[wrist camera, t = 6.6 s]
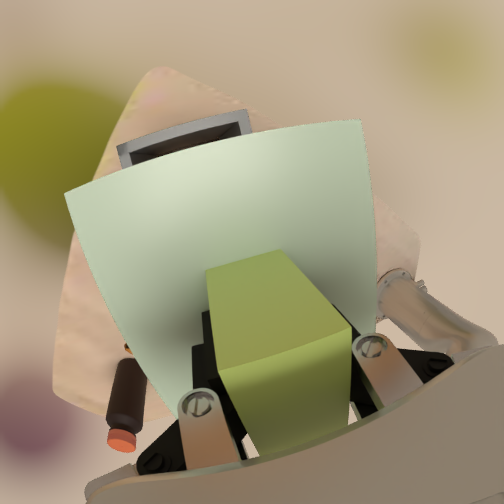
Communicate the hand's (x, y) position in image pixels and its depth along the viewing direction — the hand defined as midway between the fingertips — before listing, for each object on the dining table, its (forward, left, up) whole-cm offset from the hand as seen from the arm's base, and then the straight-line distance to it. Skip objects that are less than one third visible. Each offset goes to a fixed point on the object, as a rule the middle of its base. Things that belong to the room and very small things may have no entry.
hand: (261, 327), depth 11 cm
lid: (0, 0, -2) cm, 2 cm away
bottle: (+26, +28, -34) cm, 51 cm away
